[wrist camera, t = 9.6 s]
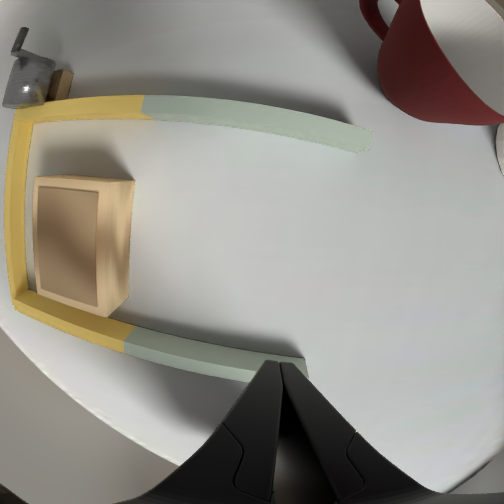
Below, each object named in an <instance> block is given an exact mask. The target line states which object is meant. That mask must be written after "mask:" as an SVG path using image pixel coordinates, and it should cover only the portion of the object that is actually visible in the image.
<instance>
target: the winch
mask: <svg viewBox="0 0 504 504" xmlns="http://www.w3.org/2000/svg"><path fill="white" fill-rule="evenodd" d="M28 30H29V28H27V27H22V28H21V29H20V31H19V33H18V36H17V38H16V40H15V43H14V45H13V48H12V50H11V52H12V53H11V55H12V56H15V57H18V58H19V59H17V60H16V61H15V62H14V65H13V68H12V71H11V74H10V77H9V81H8V84H7V88H6V91H5V95H4V99H3V103H2V106H3V107H6V108H11V109H24V108H29V107H35V106H41V105H44V103H45V102H51V101H58V100H66V99H67V96H68V93H69V89H70V85H71V81H72V78H73V75H74V73H72V72H69V71H67V70H65V69H62V70H57V71H54V70H55V67H56V63H55V62H54V61H53V60H51V59H48V58H45V57H40V56H38V55H36V54H33V53H31V52H28V51H26V50H23V49H21V47H22V45H23V42H24V40H25V37H26V35H27V33H28Z"/></svg>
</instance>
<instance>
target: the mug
mask: <svg viewBox="0 0 504 504" xmlns="http://www.w3.org/2000/svg"><path fill="white" fill-rule="evenodd" d="M377 1H378V0H359V3H360V9H361V12H362V14H363V16H364V18H365V20H366V21H367V23H368V24H369V26H370V27H371V28H372V29H373V31H374V32H375V33H376V34H377V35H378V36H379V37H380V39H381V40H382V41H383V43H382V45H381V48H380V51H379V54H378V62H377V67H378V76H379V80H380V84H381V88H382V90H383V92H384V94H385V96H386V97H387V99H388V100H389V101H390V102H391V103H392V104H393V105H394V106H396V107H397V108H399V109H400V110H402V111H403V112H405V113H406V114H408V115H410V116H412V117H414V118H417V119H419V120H423V121H427V122H435V123H451V124H464V125H494V124H501V123H504V20H503V19H502V17H501V16H500V15H499V14H498V13H497V12H496V10H495V9H494V8H493V7H492V6H491V5H490V4H489V3H487V2H486V1H485V0H395V1H396V2H397V3H398V4H399V7H398V9H397V12H396V14H395V16H394V18H393V21H392V23H391V25H390V28H389V27H388V26H387V24H386V23H385V21H384V20H383V18H382V16H381V14H380V12H379V9H378V5H377Z"/></svg>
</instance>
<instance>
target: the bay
mask: <svg viewBox="0 0 504 504" xmlns="http://www.w3.org/2000/svg"><path fill="white" fill-rule="evenodd" d="M83 119H149V120H168V121H182V122H194V123H204V124H213V125H221V126H229V127H236V128H243V129H249V130H256V131H262V132H267V133H273V134H278V135H283V136H288V137H293V138H298V139H303V140H307V141H312V142H316V143H320V144H324V145H328V146H332V147H336V148H340V149H344V150H348V151H351V152H355V153H359V152H362V151H366V150H370V144H371V137H372V131H370V130H367V129H364V128H361V127H357V126H354V125H351V124H347V123H344V122H340V121H336V120H332V119H329V118H325V117H321V116H316V115H312V114H308V113H303V112H299V111H294V110H289V109H284V108H279V107H273V106H268V105H262V104H255V103H248V102H241V101H234V100H225V99H216V98H205V97H192V96H174V95H115V96H97V97H85V98H75V99H66V100H58V101H51V102H45V103H44V105H41V106H35V107H29V108H24V109H16V111H15V116H14V120H13V126H12V131H11V137H10V144H9V151H8V159H7V168H6V180H5V201H4V227H5V248H6V261H7V270H8V279H9V286H10V292H11V298H12V304H13V305H14V306H15V310H17V311H19V312H21V313H23V314H25V315H27V316H29V317H31V318H34V319H36V320H38V321H40V322H42V323H44V324H47V325H49V326H51V327H54V328H56V329H58V330H61V331H63V332H66V333H68V334H71V335H73V336H76V337H78V338H81V339H83V340H86V341H89V342H92V343H94V344H97V345H100V346H103V347H106V348H109V349H112V350H115V351H118V352H121V353H124V354H127V355H130V356H134V357H137V358H140V359H144V360H147V361H151V362H155V363H158V364H162V365H166V366H170V367H174V368H178V369H182V370H186V371H191V372H195V373H200V374H205V375H209V376H214V377H220V378H225V379H231V380H236V381H242V382H249V383H250V381H251V380H252V378H253V377H254V375H255V374H256V372H257V371H258V369H259V368H260V366H261V365H262V363H263V362H264V361H265V360H266V359H268V360H275V361H278V362H281V361H284V362H292V363H294V364H295V365H296V366H297V368H298V369H299V370H300V371H301V372H302V373H303V374H304V375H305V376H306V378H307V379H309V376H308V371H307V366H306V362H305V358H296V357H288V356H280V355H273V354H266V353H260V352H254V351H247V350H242V349H236V348H230V347H225V346H220V345H215V344H210V343H205V342H200V341H195V340H191V339H186V338H182V337H177V336H173V335H169V334H165V333H161V332H157V331H153V330H149V329H145V328H142V327H138V326H134V325H131V324H127V323H124V322H120V321H117V320H114V319H110V318H106V317H102V316H99V315H96V314H93V313H90V312H87V311H84V310H80V309H78V308H75V307H72V306H69V305H66V304H63V303H60V302H57V301H55V300H52V299H49V298H47V297H44V296H41V295H39V294H37V293H36V292H34V291H31V290H29V288H28V280H27V270H26V258H25V240H24V202H25V183H26V172H27V162H28V154H29V147H30V140H31V134H32V128H33V123H42V122H52V121H65V120H83Z"/></svg>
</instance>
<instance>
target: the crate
mask: <svg viewBox="0 0 504 504" xmlns="http://www.w3.org/2000/svg"><path fill="white" fill-rule="evenodd" d="M134 189H135V181H131V180H122V179H111V178H100V177H87V176H73V175H53V176H38V177H35V178H34V192H33V251H34V266H35V277H36V286H37V294H39V295H41V296H44V297H47V298H49V299H52V300H55V301H57V302H60V303H63V304H66V305H69V306H72V307H75V308H78V309H80V310H84V311H87V312H90V313H93V314H96V315H99V316H102V317H106V318H107V317H108V316H109V315H110V314H111V313H112V312H113V311H114V310H115V309H116V308H117V307H119V306H120V305H121V304H122V303H123V302H124V301H125V300H126V299H127V298H128V297H129V252H130V233H131V220H132V208H133V198H134Z"/></svg>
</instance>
